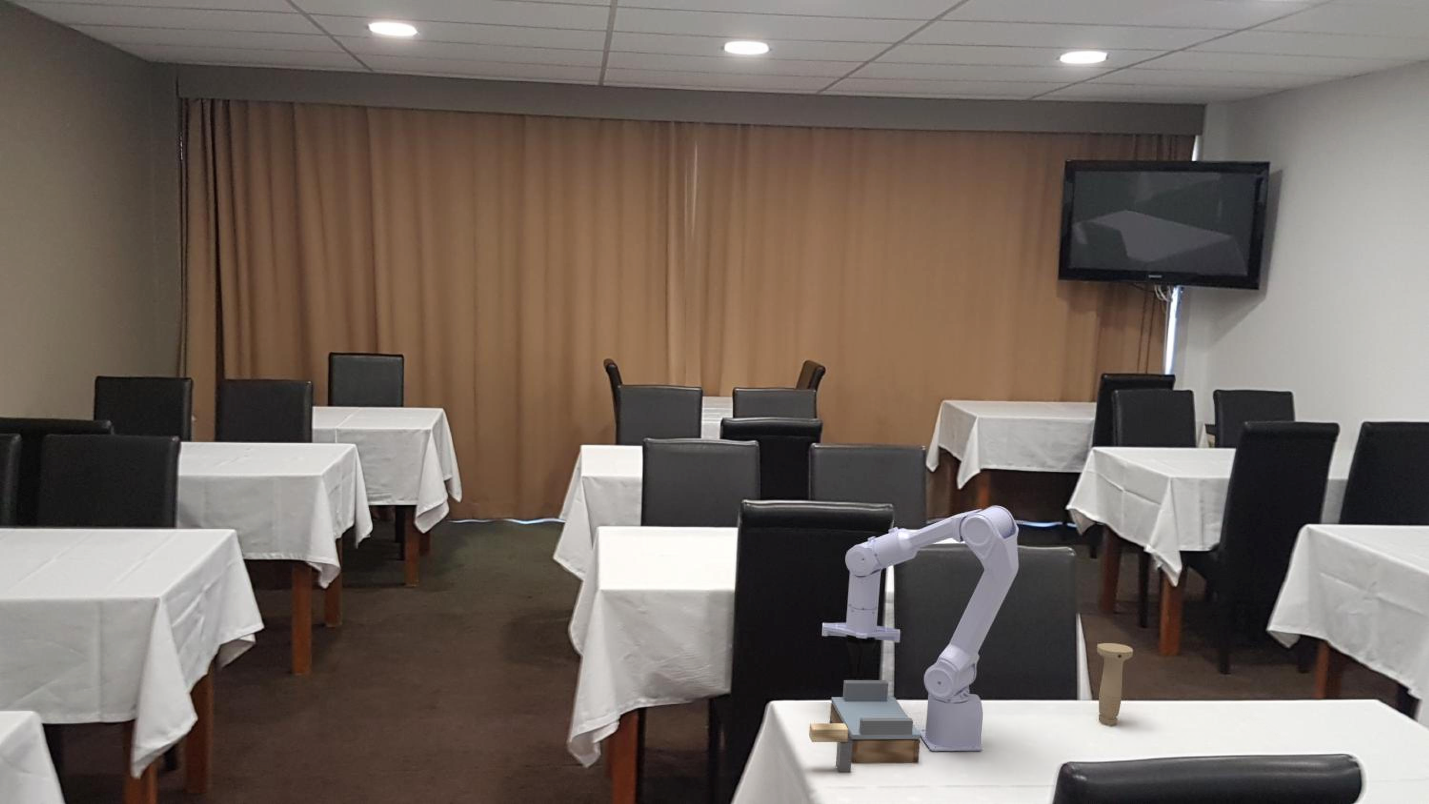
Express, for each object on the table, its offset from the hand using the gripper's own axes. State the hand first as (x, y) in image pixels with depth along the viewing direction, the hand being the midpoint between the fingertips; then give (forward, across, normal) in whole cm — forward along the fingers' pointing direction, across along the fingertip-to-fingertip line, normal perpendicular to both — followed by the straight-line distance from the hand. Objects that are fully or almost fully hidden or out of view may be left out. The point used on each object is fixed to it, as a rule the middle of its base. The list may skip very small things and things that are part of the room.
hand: (857, 674), depth 205 cm
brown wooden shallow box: (+8, +3, -12) cm, 15 cm away
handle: (+8, +48, +6) cm, 49 cm away
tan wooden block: (+2, -5, -25) cm, 25 cm away
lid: (+3, +3, -12) cm, 13 cm away
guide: (+8, -2, -24) cm, 25 cm away
